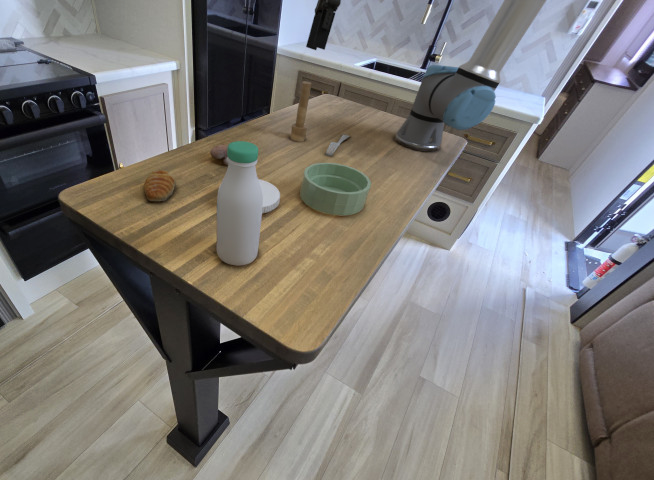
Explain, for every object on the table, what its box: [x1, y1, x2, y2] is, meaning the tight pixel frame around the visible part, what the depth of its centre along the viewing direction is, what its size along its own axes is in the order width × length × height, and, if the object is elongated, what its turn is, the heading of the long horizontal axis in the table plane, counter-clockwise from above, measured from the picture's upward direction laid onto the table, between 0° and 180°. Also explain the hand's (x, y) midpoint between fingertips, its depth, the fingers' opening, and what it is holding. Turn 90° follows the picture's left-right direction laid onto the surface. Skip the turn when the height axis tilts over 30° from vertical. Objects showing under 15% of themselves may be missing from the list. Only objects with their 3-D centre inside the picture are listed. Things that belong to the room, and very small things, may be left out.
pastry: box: [143, 169, 177, 202], centre depth 74 cm, size 9×7×4 cm
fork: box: [325, 134, 351, 157], centre depth 108 cm, size 3×21×3 cm, turn 154°
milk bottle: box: [216, 140, 263, 266], centre depth 55 cm, size 8×8×20 cm
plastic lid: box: [217, 178, 281, 215], centre depth 76 cm, size 14×14×2 cm
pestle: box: [289, 80, 312, 142], centre depth 103 cm, size 5×5×16 cm
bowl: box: [299, 162, 372, 217], centre depth 79 cm, size 16×16×6 cm
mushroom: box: [210, 144, 229, 166], centre depth 89 cm, size 8×6×8 cm
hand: (314, 48), depth 79 cm, fingers open, 13 cm apart
